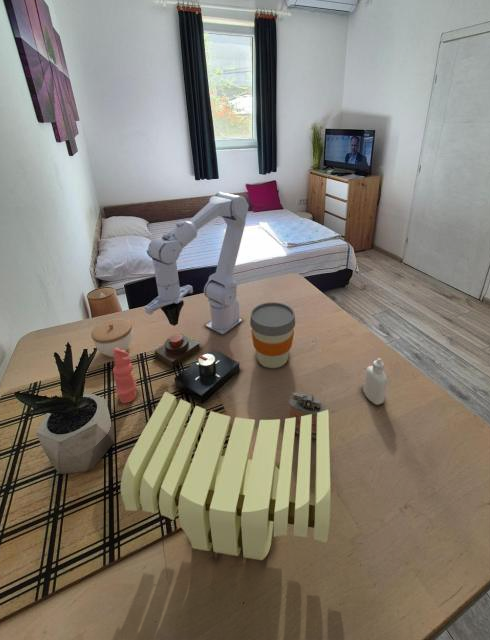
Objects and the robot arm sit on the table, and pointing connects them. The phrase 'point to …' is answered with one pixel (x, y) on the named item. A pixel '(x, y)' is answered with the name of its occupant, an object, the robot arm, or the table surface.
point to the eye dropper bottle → (375, 382)
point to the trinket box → (112, 336)
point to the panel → (207, 378)
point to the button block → (176, 351)
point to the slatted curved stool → (228, 478)
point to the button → (176, 340)
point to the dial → (207, 364)
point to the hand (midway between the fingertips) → (173, 323)
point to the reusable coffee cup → (272, 333)
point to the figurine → (123, 376)
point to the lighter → (305, 410)
